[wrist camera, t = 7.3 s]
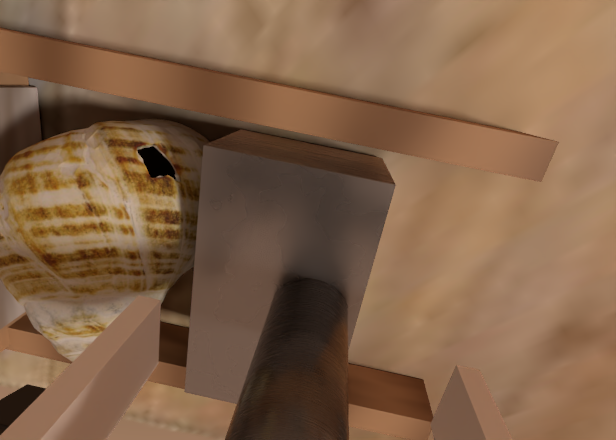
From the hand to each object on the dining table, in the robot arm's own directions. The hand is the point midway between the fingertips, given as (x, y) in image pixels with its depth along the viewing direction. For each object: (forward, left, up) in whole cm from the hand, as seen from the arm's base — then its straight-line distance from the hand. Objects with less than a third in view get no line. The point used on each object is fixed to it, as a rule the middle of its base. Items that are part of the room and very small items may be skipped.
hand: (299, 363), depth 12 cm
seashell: (-10, 0, -8) cm, 13 cm away
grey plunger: (-1, 0, -8) cm, 8 cm away
